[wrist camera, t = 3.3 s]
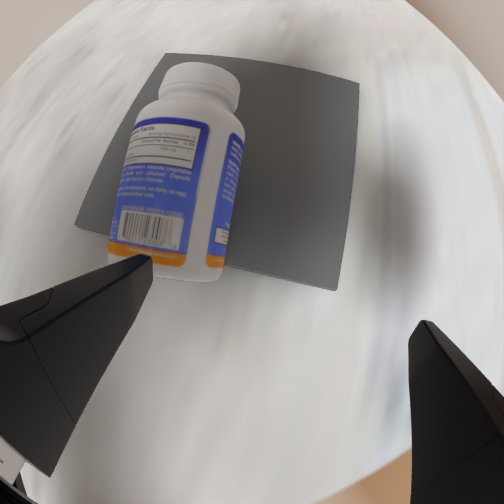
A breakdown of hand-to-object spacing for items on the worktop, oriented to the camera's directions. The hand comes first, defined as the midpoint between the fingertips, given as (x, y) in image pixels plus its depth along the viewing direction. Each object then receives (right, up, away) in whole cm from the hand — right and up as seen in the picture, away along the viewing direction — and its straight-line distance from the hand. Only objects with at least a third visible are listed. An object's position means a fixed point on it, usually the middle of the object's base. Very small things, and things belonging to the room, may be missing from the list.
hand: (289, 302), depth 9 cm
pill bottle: (-5, 0, +4) cm, 7 cm away
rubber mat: (-3, +9, +9) cm, 13 cm away
